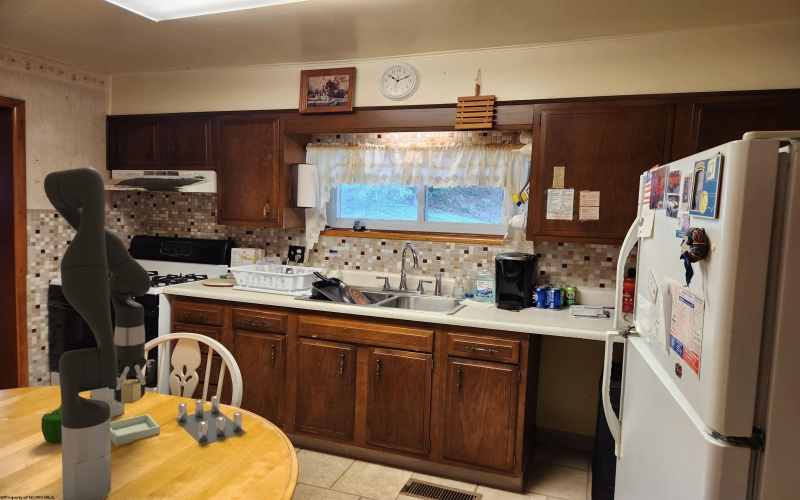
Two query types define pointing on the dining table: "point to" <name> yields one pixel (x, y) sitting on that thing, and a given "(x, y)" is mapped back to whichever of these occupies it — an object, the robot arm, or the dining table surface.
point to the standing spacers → (204, 424)
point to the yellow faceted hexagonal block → (130, 391)
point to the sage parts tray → (132, 429)
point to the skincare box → (108, 400)
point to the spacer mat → (193, 427)
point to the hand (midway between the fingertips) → (129, 398)
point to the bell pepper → (52, 426)
